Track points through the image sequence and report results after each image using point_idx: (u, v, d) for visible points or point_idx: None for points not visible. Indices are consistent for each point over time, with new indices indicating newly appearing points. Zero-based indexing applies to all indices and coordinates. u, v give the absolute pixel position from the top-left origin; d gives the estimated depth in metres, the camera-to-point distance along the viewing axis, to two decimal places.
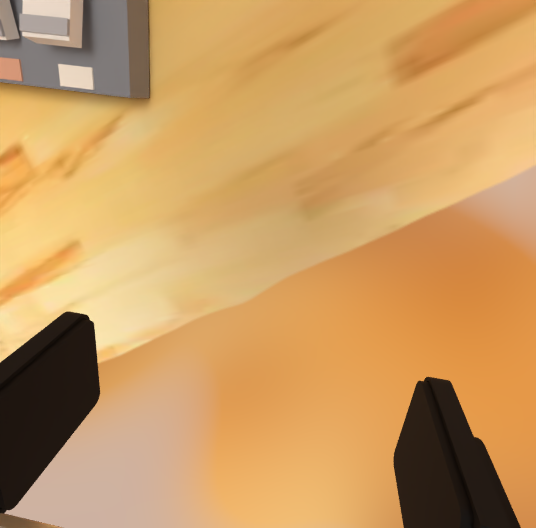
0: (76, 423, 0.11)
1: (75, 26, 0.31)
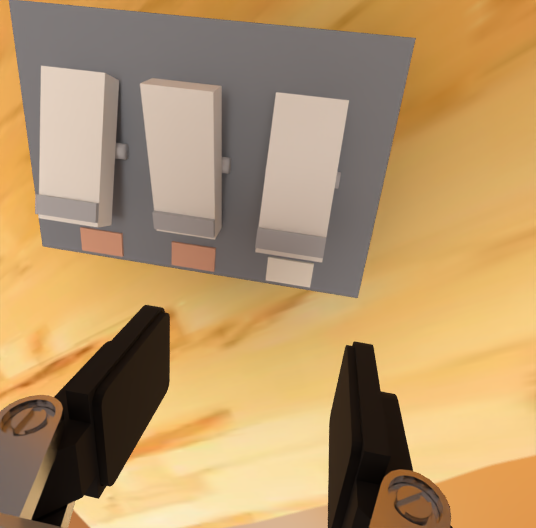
0: (153, 409, 0.12)
1: None
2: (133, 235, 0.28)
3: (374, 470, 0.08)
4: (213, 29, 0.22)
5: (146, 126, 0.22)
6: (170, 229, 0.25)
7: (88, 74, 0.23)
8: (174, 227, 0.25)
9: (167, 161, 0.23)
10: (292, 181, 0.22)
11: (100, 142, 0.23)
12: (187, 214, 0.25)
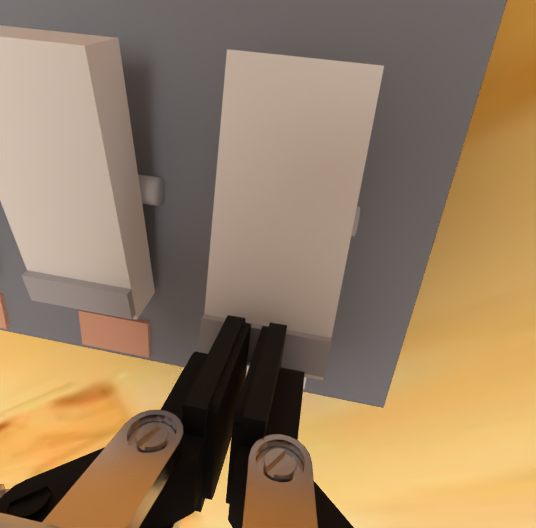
0: None
1: None
2: (20, 297, 0.17)
3: (254, 435, 0.08)
4: None
5: None
6: (58, 302, 0.14)
7: None
8: (63, 300, 0.14)
9: (28, 188, 0.12)
10: (265, 233, 0.11)
11: None
12: (83, 279, 0.14)
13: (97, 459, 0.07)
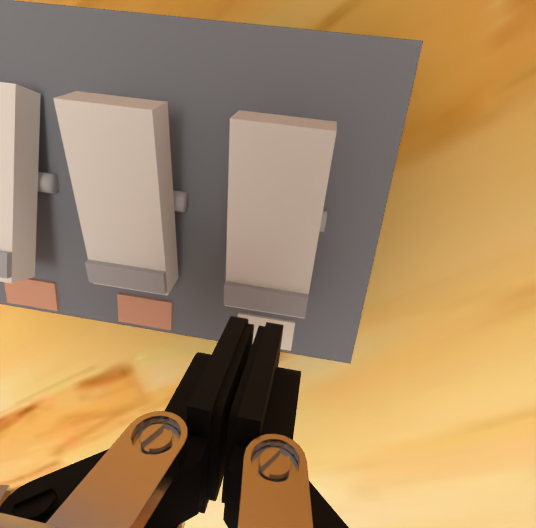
0: None
1: None
2: (70, 285, 0.23)
3: (249, 435, 0.08)
4: (159, 29, 0.17)
5: (67, 154, 0.16)
6: (109, 283, 0.20)
7: None
8: (114, 281, 0.19)
9: (99, 199, 0.17)
10: (262, 233, 0.17)
11: (12, 174, 0.18)
12: (130, 265, 0.19)
13: (101, 460, 0.07)
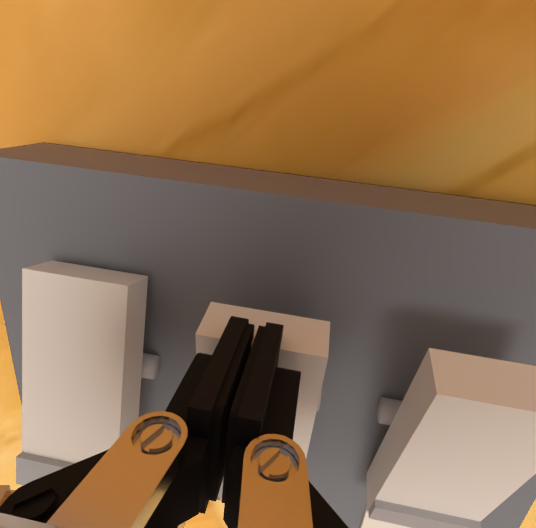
0: None
1: None
2: None
3: (249, 435, 0.08)
4: (308, 214, 0.13)
5: None
6: None
7: (100, 286, 0.14)
8: None
9: None
10: (440, 477, 0.13)
11: (119, 386, 0.14)
12: None
13: (101, 460, 0.07)
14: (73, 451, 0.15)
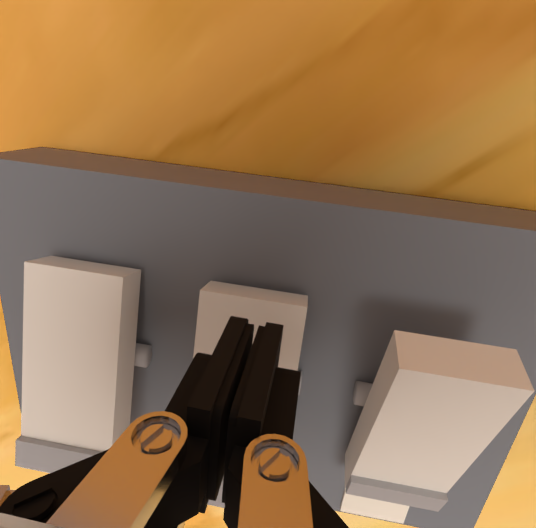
0: None
1: None
2: None
3: (249, 435, 0.08)
4: (287, 211, 0.15)
5: (197, 346, 0.15)
6: None
7: (97, 277, 0.15)
8: None
9: None
10: (408, 449, 0.15)
11: (114, 371, 0.15)
12: None
13: (101, 460, 0.07)
14: (70, 434, 0.16)
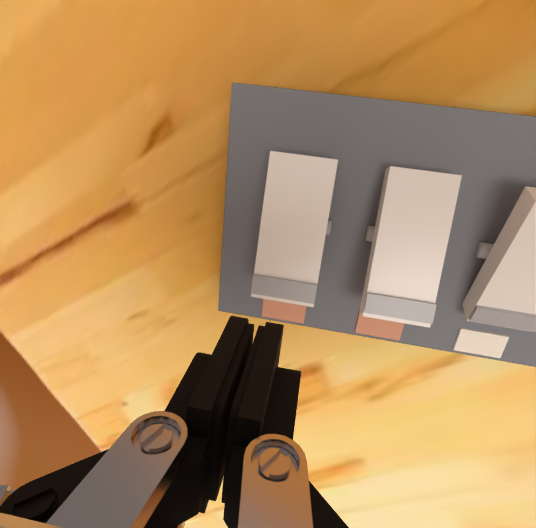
0: None
1: None
2: (318, 303, 0.28)
3: (249, 435, 0.08)
4: (447, 116, 0.22)
5: (385, 204, 0.23)
6: (383, 313, 0.23)
7: (320, 160, 0.23)
8: (388, 311, 0.23)
9: (398, 239, 0.23)
10: (524, 275, 0.22)
11: (324, 225, 0.23)
12: (404, 297, 0.23)
13: (101, 460, 0.07)
14: (289, 271, 0.24)
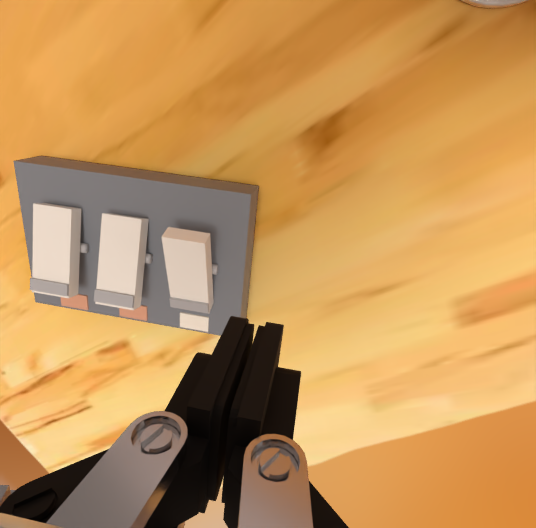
0: None
1: (210, 299, 0.40)
2: None
3: (249, 435, 0.08)
4: (136, 183, 0.37)
5: (101, 236, 0.38)
6: (104, 301, 0.38)
7: (61, 209, 0.38)
8: (107, 300, 0.38)
9: (110, 257, 0.38)
10: (183, 278, 0.37)
11: (69, 248, 0.38)
12: (117, 292, 0.38)
13: (101, 460, 0.07)
14: (52, 276, 0.39)
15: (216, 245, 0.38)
